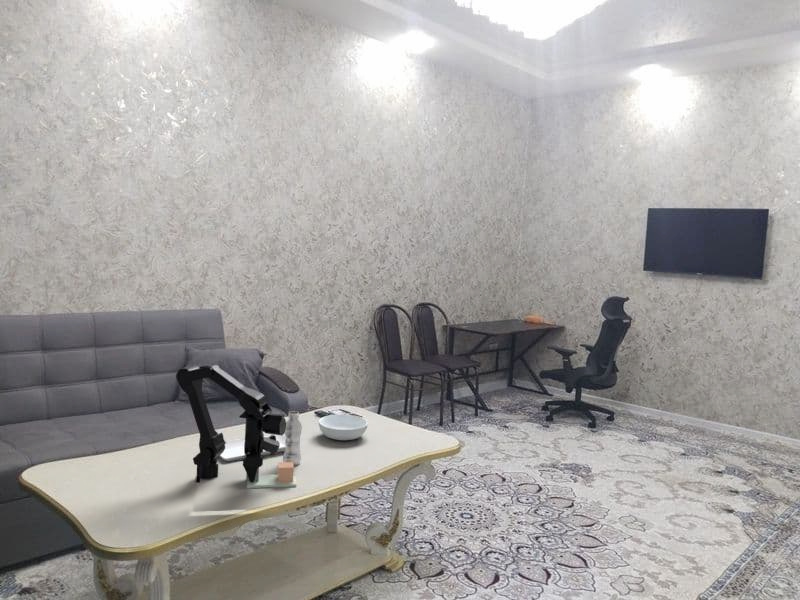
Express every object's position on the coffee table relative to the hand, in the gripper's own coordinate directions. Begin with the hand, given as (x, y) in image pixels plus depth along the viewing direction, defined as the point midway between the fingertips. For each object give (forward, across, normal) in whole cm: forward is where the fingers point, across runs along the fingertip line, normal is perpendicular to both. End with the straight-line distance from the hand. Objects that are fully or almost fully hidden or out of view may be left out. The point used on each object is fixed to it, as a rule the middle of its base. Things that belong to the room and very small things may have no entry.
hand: (252, 477), depth 203 cm
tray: (+4, +33, 0) cm, 33 cm away
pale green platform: (+2, 0, -6) cm, 7 cm away
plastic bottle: (+3, +17, -14) cm, 22 cm away
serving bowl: (+3, +49, -37) cm, 61 cm away
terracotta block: (+1, 0, -11) cm, 11 cm away
